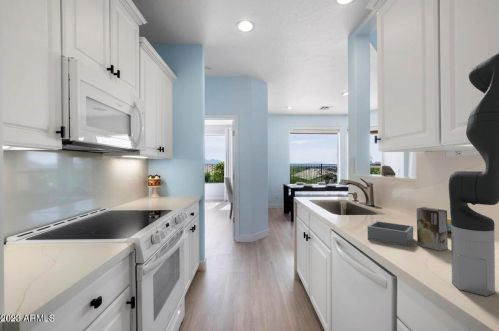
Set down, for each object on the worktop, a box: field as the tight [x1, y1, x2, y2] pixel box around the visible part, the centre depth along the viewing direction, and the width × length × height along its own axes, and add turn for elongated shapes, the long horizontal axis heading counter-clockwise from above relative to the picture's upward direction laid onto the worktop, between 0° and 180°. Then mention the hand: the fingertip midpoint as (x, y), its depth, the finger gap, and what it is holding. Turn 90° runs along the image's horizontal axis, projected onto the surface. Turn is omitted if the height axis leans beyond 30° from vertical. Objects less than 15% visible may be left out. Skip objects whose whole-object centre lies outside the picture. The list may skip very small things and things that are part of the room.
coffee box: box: [416, 206, 449, 252], centre depth 104 cm, size 9×6×16 cm
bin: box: [367, 220, 414, 247], centre depth 116 cm, size 14×16×6 cm
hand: (471, 201), depth 96 cm, fingers open, 8 cm apart
